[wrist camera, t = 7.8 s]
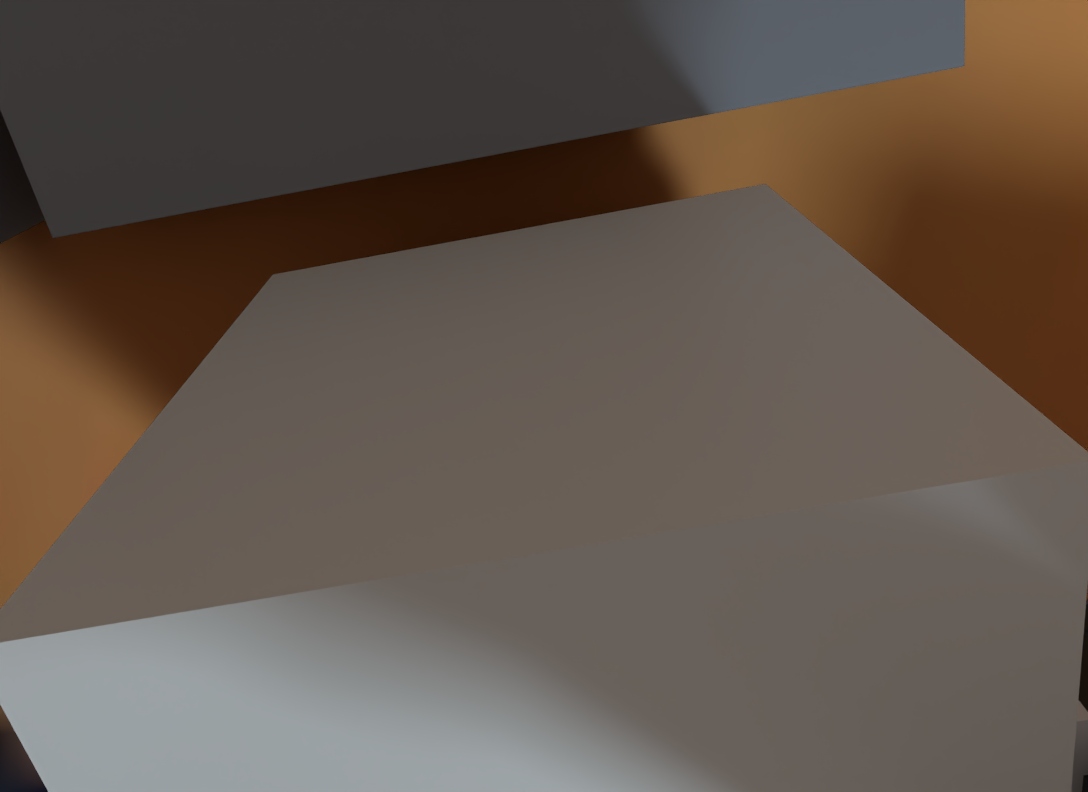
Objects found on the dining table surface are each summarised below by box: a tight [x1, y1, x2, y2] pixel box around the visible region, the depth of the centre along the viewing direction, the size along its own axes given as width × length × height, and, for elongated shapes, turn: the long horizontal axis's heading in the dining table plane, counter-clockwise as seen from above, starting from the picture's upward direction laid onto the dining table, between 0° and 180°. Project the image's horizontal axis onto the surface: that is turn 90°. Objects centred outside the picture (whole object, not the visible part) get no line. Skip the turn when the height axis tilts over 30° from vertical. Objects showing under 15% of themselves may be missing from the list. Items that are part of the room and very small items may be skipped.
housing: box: [0, 184, 1088, 792], centre depth 11 cm, size 9×7×8 cm
